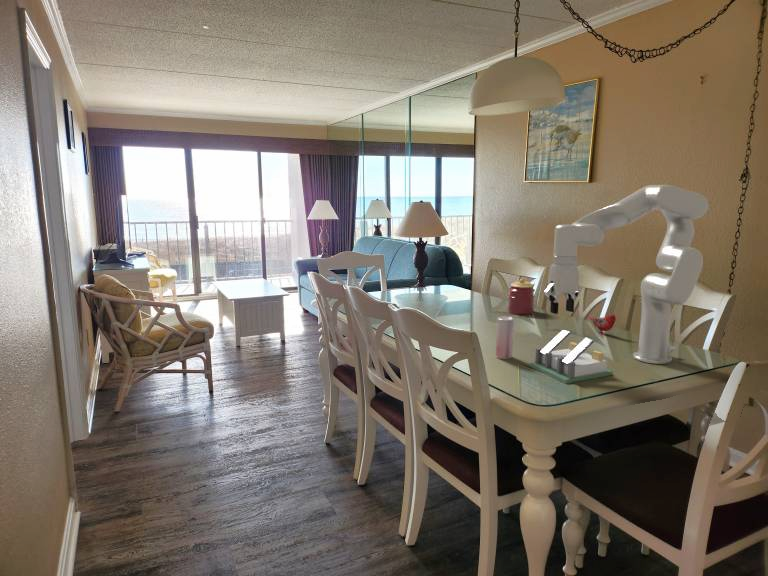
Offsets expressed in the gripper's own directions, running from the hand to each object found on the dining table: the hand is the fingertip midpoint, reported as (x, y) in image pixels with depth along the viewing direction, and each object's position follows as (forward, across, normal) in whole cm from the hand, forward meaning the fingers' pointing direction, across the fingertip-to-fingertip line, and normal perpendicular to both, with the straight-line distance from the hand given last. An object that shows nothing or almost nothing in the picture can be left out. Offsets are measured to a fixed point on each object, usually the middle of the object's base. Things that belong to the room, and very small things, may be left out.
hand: (561, 311), depth 179 cm
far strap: (+11, +2, 0) cm, 11 cm away
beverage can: (+20, +12, -16) cm, 28 cm away
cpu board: (+20, 0, +6) cm, 20 cm away
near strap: (+11, +2, +11) cm, 16 cm away
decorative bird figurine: (+20, -45, -26) cm, 56 cm away
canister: (+20, -39, -73) cm, 85 cm away
